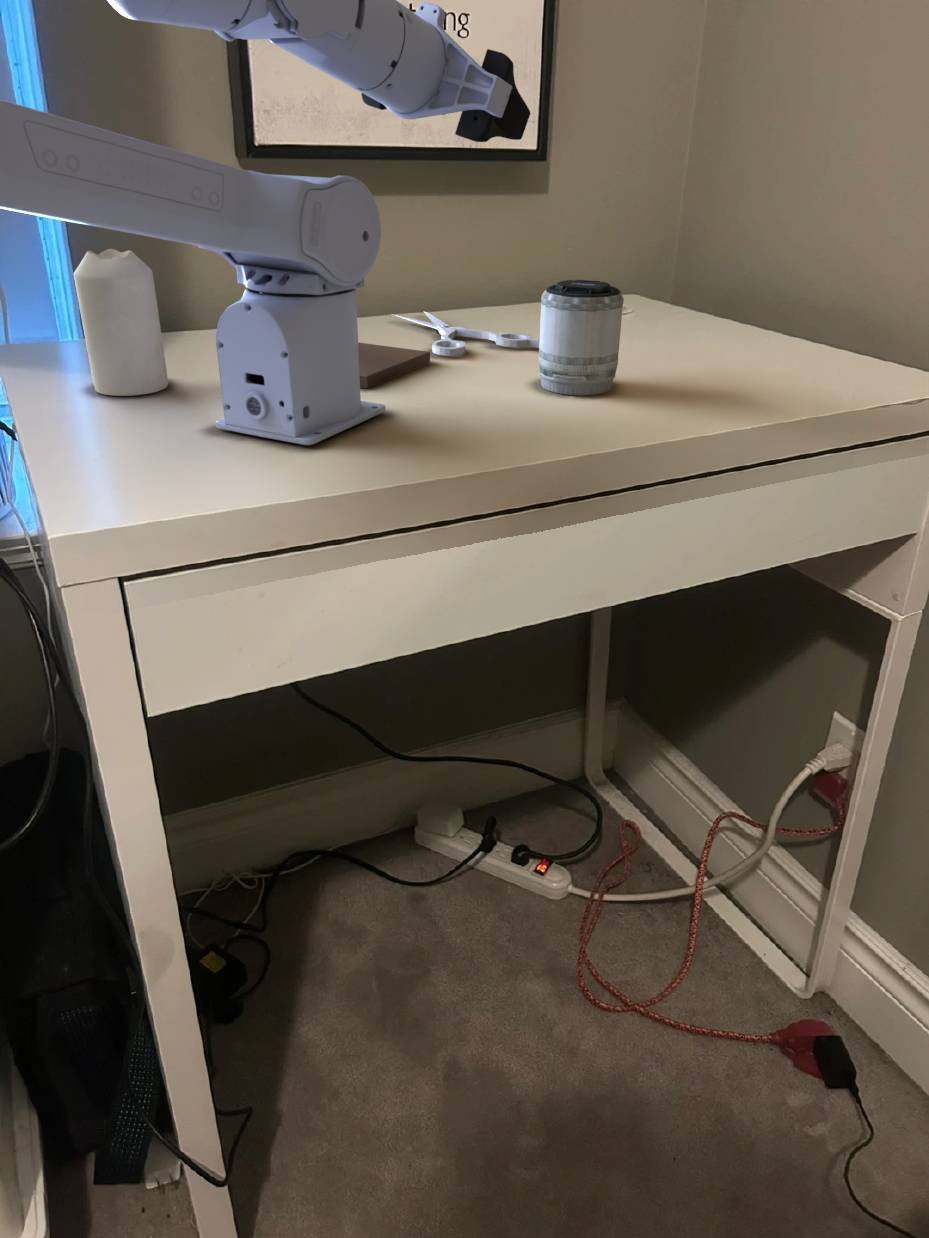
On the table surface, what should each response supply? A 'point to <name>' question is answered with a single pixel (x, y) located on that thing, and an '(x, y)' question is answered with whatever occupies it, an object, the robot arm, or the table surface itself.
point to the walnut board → (387, 363)
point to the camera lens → (579, 337)
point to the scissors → (458, 347)
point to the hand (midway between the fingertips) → (483, 112)
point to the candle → (121, 323)
